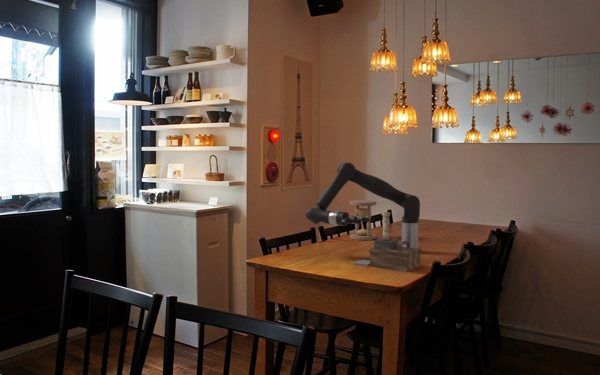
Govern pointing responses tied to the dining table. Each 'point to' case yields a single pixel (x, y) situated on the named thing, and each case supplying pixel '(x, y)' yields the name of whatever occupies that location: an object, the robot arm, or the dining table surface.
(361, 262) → the mat
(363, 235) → the hourglass
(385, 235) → the pin
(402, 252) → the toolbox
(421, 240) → the dining table surface
